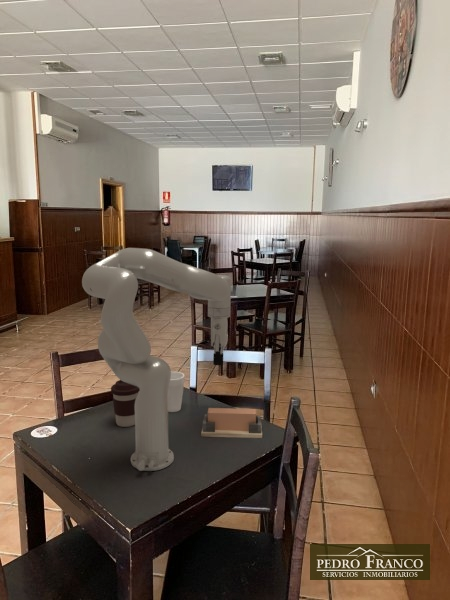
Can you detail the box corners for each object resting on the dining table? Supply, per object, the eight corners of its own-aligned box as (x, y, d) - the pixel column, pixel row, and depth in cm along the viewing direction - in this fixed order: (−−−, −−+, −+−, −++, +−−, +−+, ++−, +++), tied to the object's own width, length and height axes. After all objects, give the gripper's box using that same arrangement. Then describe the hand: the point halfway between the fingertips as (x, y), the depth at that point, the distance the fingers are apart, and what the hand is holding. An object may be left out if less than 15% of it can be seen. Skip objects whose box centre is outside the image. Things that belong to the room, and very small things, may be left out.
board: (262, 438, 145) (262, 426, 144) (201, 436, 146) (201, 424, 145) (261, 425, 154) (261, 414, 153) (203, 424, 155) (203, 412, 154)
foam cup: (189, 407, 169) (189, 374, 167) (174, 415, 161) (174, 381, 159) (170, 401, 174) (169, 370, 172) (154, 410, 166) (154, 376, 164)
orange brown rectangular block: (255, 431, 147) (256, 414, 146) (207, 429, 148) (207, 412, 147) (255, 425, 151) (255, 409, 150) (208, 424, 152) (208, 407, 151)
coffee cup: (125, 432, 148) (123, 389, 146) (106, 423, 154) (104, 382, 152) (147, 421, 156) (146, 381, 154) (128, 414, 162) (127, 375, 159)
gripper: (228, 316, 141) (227, 372, 144) (231, 308, 156) (230, 358, 158) (205, 315, 141) (204, 371, 144) (210, 307, 156) (210, 357, 159)
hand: (218, 364), depth 151 cm, fingers closed
